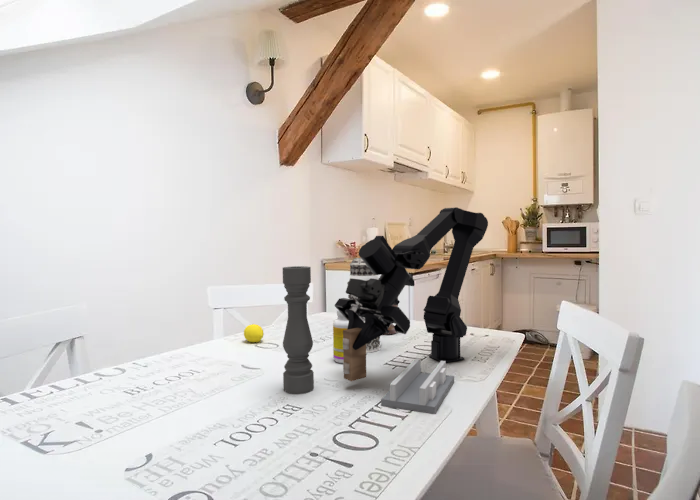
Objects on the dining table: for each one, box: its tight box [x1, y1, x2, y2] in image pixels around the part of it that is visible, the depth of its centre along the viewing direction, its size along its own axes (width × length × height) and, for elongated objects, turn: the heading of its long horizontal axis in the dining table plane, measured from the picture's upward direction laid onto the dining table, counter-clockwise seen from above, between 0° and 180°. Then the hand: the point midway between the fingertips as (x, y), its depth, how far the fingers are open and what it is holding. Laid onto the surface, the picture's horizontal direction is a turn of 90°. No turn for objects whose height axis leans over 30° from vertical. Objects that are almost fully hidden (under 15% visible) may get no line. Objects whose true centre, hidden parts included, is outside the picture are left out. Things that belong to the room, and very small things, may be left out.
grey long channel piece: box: [380, 357, 455, 415], centre depth 87 cm, size 18×10×4 cm, turn 156°
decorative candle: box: [347, 257, 381, 354], centre depth 121 cm, size 9×9×25 cm
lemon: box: [243, 323, 265, 344], centre depth 130 cm, size 7×5×5 cm
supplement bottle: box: [332, 308, 349, 364], centre depth 110 cm, size 7×7×13 cm
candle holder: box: [282, 265, 315, 395], centre depth 90 cm, size 6×6×25 cm
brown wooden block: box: [342, 328, 367, 382], centre depth 91 cm, size 5×2×10 cm, turn 129°
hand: (349, 347), depth 90 cm, fingers closed on brown wooden block, 2 cm apart
